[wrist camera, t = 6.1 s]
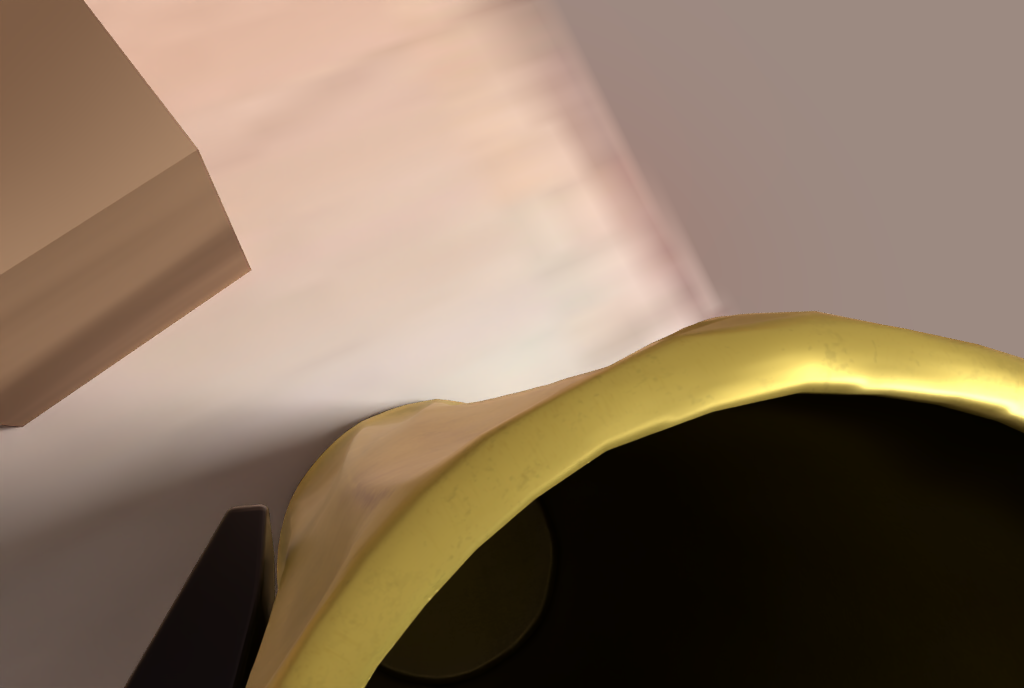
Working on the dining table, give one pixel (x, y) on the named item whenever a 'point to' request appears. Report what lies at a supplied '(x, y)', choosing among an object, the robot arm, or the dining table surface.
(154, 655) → the robot arm
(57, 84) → the walnut block
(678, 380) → the vase
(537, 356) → the dining table surface
